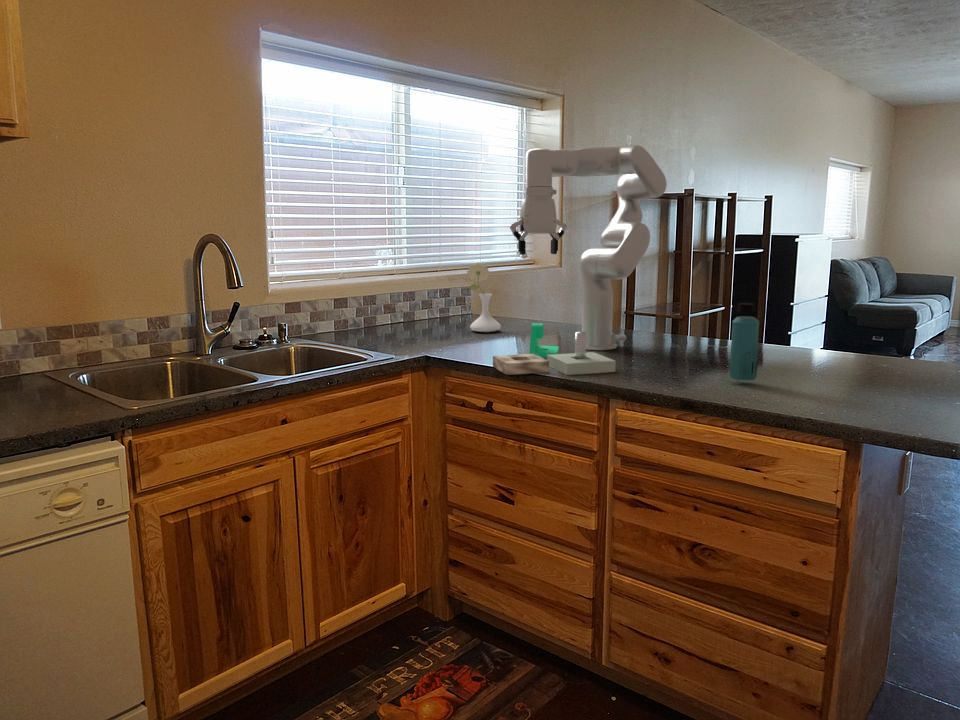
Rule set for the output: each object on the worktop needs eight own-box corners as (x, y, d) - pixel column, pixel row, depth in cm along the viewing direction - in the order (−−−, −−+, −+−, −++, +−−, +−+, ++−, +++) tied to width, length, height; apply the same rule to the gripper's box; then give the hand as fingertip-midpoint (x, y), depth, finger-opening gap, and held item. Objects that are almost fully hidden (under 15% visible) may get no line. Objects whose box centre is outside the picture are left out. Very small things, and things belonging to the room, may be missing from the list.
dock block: (592, 362, 213) (593, 352, 212) (615, 371, 200) (615, 360, 199) (547, 365, 209) (547, 354, 209) (566, 375, 196) (567, 363, 195)
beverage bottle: (753, 387, 180) (758, 305, 176) (725, 384, 184) (729, 303, 180) (759, 382, 186) (764, 302, 182) (731, 379, 189) (736, 301, 185)
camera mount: (555, 362, 215) (556, 326, 213) (529, 361, 216) (529, 326, 215) (559, 354, 227) (559, 321, 225) (533, 354, 228) (534, 320, 226)
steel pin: (583, 367, 206) (583, 331, 205) (587, 369, 203) (588, 332, 202) (573, 367, 205) (573, 331, 204) (577, 369, 203) (578, 333, 201)
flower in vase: (505, 330, 276) (505, 262, 272) (493, 334, 266) (493, 264, 261) (473, 328, 282) (473, 261, 277) (460, 332, 271) (460, 263, 267)
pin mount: (533, 364, 211) (533, 353, 211) (549, 372, 200) (549, 361, 199) (492, 366, 208) (492, 355, 207) (506, 374, 196) (506, 363, 196)
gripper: (561, 194, 219) (560, 253, 222) (505, 194, 214) (505, 254, 217) (572, 193, 212) (570, 254, 215) (514, 193, 207) (514, 255, 210)
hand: (538, 254), depth 216 cm, fingers open, 9 cm apart
